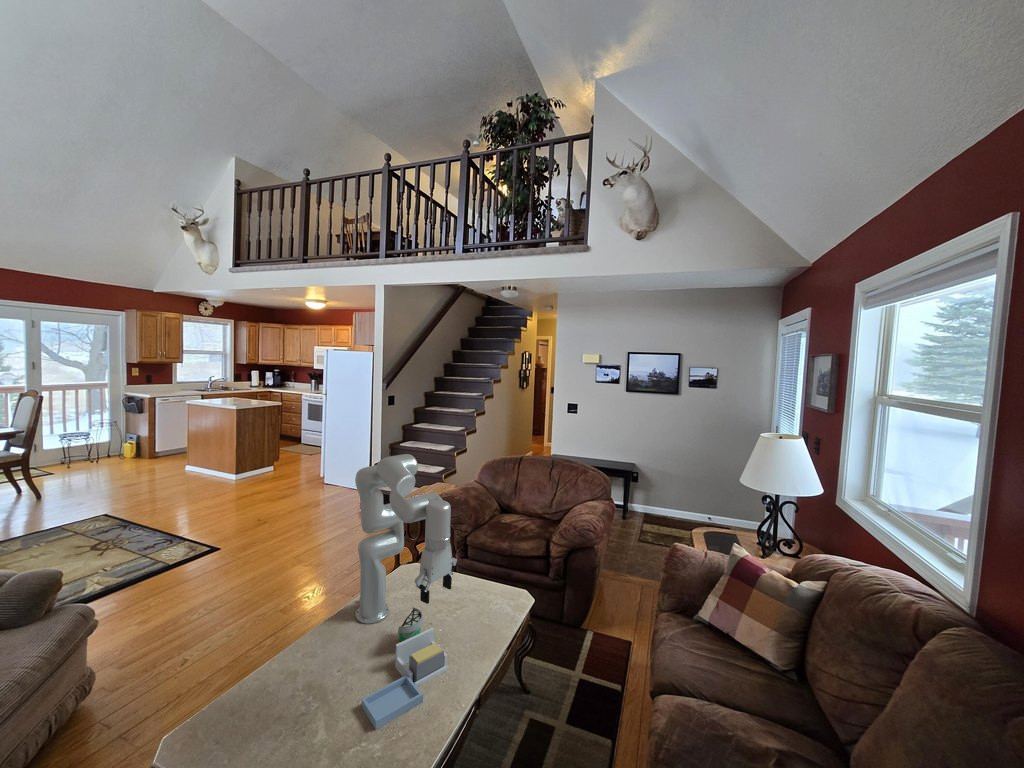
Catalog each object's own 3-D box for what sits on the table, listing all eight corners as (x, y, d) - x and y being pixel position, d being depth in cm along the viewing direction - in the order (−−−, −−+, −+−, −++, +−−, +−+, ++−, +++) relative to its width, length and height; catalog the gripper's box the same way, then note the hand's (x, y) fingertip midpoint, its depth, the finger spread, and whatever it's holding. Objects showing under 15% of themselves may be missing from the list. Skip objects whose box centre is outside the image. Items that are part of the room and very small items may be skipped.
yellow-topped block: (408, 674, 141) (409, 654, 140) (435, 660, 148) (436, 641, 147) (416, 684, 137) (417, 663, 137) (443, 669, 144) (444, 649, 143)
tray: (361, 706, 128) (361, 698, 128) (406, 682, 138) (407, 674, 138) (375, 730, 121) (376, 721, 120) (422, 702, 131) (423, 694, 130)
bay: (395, 667, 144) (395, 644, 143) (431, 648, 153) (432, 627, 152) (412, 689, 135) (413, 665, 134) (450, 668, 145) (451, 645, 144)
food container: (414, 658, 148) (414, 630, 147) (397, 654, 150) (398, 627, 149) (428, 634, 160) (428, 609, 159) (412, 631, 162) (413, 606, 161)
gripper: (447, 529, 143) (446, 579, 144) (407, 548, 128) (406, 603, 130) (465, 535, 138) (463, 586, 140) (425, 555, 124) (424, 612, 126)
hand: (436, 594), depth 135 cm, fingers open, 9 cm apart
